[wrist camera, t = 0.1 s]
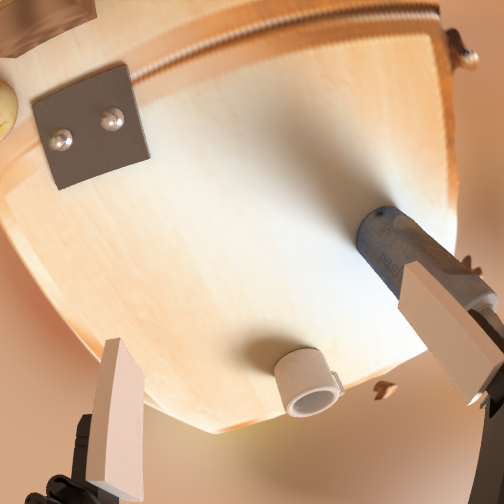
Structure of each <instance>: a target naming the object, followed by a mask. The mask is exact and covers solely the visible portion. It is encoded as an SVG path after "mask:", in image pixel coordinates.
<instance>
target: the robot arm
mask: <svg viewBox="0 0 504 504" xmlns="http://www.w3.org/2000/svg"><path fill="white" fill-rule="evenodd" d="M398 309H399V310H400V312H401V313H402V314H403V316H404V317H405V318H406V320H407V321H408V322H409V324H410V325H411V326H412V327H413V329H414V330H415V331H416V333H417V334H418V335H419V337H420V338H421V340H422V341H423V342H424V344H425V345H426V346H427V348H428V349H429V350H430V352H431V353H432V355H433V356H434V357H435V359H436V360H437V362H438V363H439V364H440V366H441V367H442V369H443V370H444V372H445V373H446V374H447V376H448V377H449V379H450V380H451V382H452V383H453V385H454V386H455V388H456V389H457V391H458V392H459V394H460V395H461V397H462V398H463V400H464V401H465V403H466V404H467V406H468V405H470V404H472V403H473V402H474V401H476V400H478V399H479V398H480V397H481V396H482V394H483V393H484V392H485V390H486V391H487V393H488V395H487V397H486V398H485V399H484V401H483V402H482V403H481V405H480V408H483V406H484V405H485V404H486V407H485V409H486V410H485V419H484V428H483V435H482V442H481V448H480V454H479V459H478V464H477V469H476V474H475V478H474V482H473V486H472V490H471V494H470V498H469V501H468V504H504V339H503V338H502V337H501V336H500V334H499V333H498V332H497V331H496V330H494V328H493V326H492V325H491V324H489V322H488V321H487V320H486V319H485V318H484V316H483V315H482V314H480V313H478V312H477V311H475V310H473V309H470V310H468V311H466V310H465V309H464V308H463V307H462V306H461V305H460V304H459V303H458V302H457V300H456V299H455V298H454V297H453V296H452V295H451V294H450V293H449V292H448V291H447V290H446V289H445V288H444V287H443V286H442V285H441V284H440V283H439V282H438V281H437V280H436V279H435V278H434V277H433V276H432V275H431V274H430V273H429V272H428V271H427V270H426V269H425V268H424V267H423V266H422V265H421V264H420V263H419V262H418V261H415V262H412V263H409V264H406V265H404V272H403V279H402V286H401V292H400V298H399V304H398ZM144 383H145V374H144V373H143V371H142V370H141V368H140V367H139V365H138V364H137V362H136V361H135V359H134V358H133V356H132V355H131V353H130V352H129V350H128V349H127V347H126V345H125V344H124V342H123V341H122V339H121V338H115V339H110V340H106V342H105V346H104V351H103V356H102V361H101V366H100V372H99V377H98V382H97V388H96V394H95V399H94V406H93V413H92V414H85V415H83V416H82V418H81V420H80V421H79V423H78V426H77V433H76V437H77V438H76V440H75V448H74V457H73V465H72V475H71V479H70V478H68V477H66V476H64V475H55V476H53V477H52V478H51V479H50V480H49V481H48V483H47V486H46V494H47V496H43V495H41V494H39V493H31V494H29V495H28V496H27V498H26V499H25V504H119V498H120V499H123V500H125V501H137V502H138V501H141V502H143V501H144V500H143V468H142V467H143V466H142V465H143V464H142V440H143V437H142V436H143V403H144Z"/></svg>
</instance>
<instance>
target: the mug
mask: <svg viewBox="0 0 504 504" xmlns="http://www.w3.org/2000/svg"><path fill="white" fill-rule="evenodd" d="M274 375H275V379H276V383H277V386H278V389H279V393H280V396H281V399H282V403H283V406H284V409H285V411H286V413H287V414H289V415H291V416H294V417H306V416H310V415H314V414H317V413H320V412H322V411H324V410H326V409H327V408H329V407H330V406H331V405H333V404H334V403H335V402H336V400H337V399H338V397H339V396H341V395H343V394H344V393H345V390H344V388H343V386H342V383H341V381H340V379H339V377H338V375H337V373H336V372H334V371H330V369H329V366H328V364H327V362H326V359H325V357H324V355H323V354H322V353H321V352H320V351H318V350H316V349H310V348H305V349H299V350H296V351H293V352H291V353H289V354H287V355H285V356H284V357H283V358H281V359H280V360H279V361H278V363H277V364H276V366H275V368H274ZM332 375H334V377H335V379H336V381H337V383H338V386H339V388H340V390H341V392H340V391H339V388H338V386H337V384H336V382H335V380H334V378H333V376H332Z"/></svg>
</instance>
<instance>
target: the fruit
mask: <svg viewBox="0 0 504 504" xmlns="http://www.w3.org/2000/svg"><path fill="white" fill-rule="evenodd" d="M17 114H18V99H17V96H16V94H15V92H14V90H13V89H12V88H11V87H10V86H9V85H8V84H6V83H5V82H2V81H0V142H1V141H3V140H4V139H5V138H6V137H7V136H8V135H9V133H10V132H11V130H12V129H13V126H14V124H15V122H16V118H17Z"/></svg>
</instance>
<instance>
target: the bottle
mask: <svg viewBox="0 0 504 504" xmlns="http://www.w3.org/2000/svg"><path fill="white" fill-rule="evenodd" d="M357 247H358V250H359V253H360V254H361V255H362V256H363V258H364V259H365V260H366V261H367V262H368V264H369V265H370V266H371V267H372V268H373V269H374V271H375V272H376V273H377V274H378V275H379V277H380V278H381V279H382V280H383V282H384V283H385V284H386V285H387V286H388V288H389V289H390V290H391V291H392V292H393V294H394V295H395V296H396V298H397V299H398V300H399V298H400V292H401V286H402V279H403V272H404V265H406V264H409V263H412V262H415V261H418V262H419V263H420V264H421V265H422V266H423V267H424V268H425V269H426V270H427V271H428V272H429V273H430V274H431V275H432V276H433V277H434V278H435V279H436V280H437V281H438V282H439V283H440V284H441V285H442V286H443V287H444V288H445V289H446V290H447V291H448V292H449V293H450V294H451V295H452V296H453V297H454V298H455V299H456V300H457V302H458V303H459V304H460V305H461V306H462V307H463V308H464V309H465V310H466V311H468V310H470V309H473V310H475V311H477V312H478V313H480V314H482V315H483V316H484V318H485V319H486V320H487V321H488V322H489V324H491V325H492V326H493V328H494V330H496V331H497V332H498V333H499V334H500V336H501V337H502V338H503V339H504V325H503V323H502V322H501V320H500V319H499V318H498V316H497V314H496V309H497V306H498V297H497V295H496V293H495V292H494V291H493V290H492V289H491V288H490V287H489V286H488V285H487V284H486V283H485V282H484V281H483V280H482V279H481V278H480V277H479V276H477V275H476V274H475V273H474V272H472V271H470V270H468V269H467V268H466V267H465V266H464V265H463V264H462V263H461V262H459V261H458V260H457V259H456V258H455V257H454V256H453V255H452V254H450V253H449V252H448V251H447V250H446V249H445V248H444V247H442V246H441V245H440V244H439V243H438V242H437V241H435V240H434V239H433V238H432V237H431V236H430V235H428V234H427V233H426V232H425V231H424V230H423V229H422V228H421V227H420V226H419V225H418V224H417V223H416V222H415V221H414V220H413V219H411V218H410V217H409V216H407V215H406V214H404V213H403V212H402V211H400V210H399V209H397V208H395V207H381V208H379V209H377V210H374V211H373V212H372V213H370V214H369V215H368V216H367V217H366V218H365V220H364V221H363V223H362V224H361V226H360V228H359V231H358V235H357Z"/></svg>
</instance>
